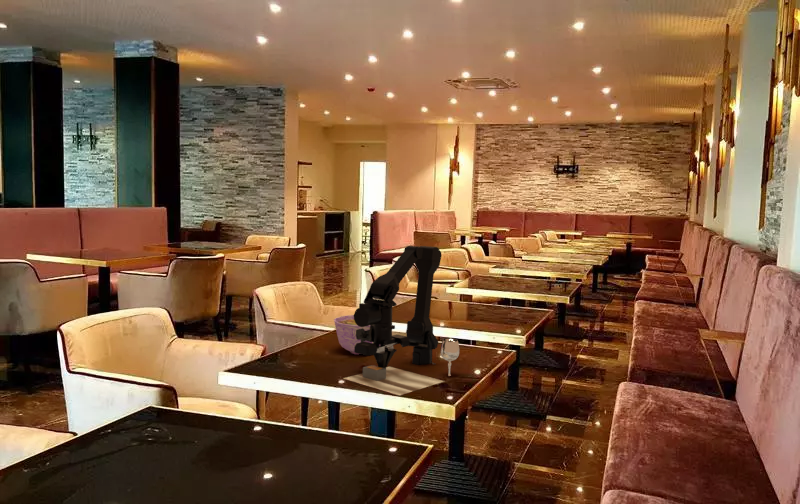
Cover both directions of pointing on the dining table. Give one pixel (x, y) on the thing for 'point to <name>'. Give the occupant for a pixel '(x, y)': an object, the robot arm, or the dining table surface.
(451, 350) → the wineglass
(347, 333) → the bowl of food
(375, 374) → the block
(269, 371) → the dining table surface
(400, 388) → the subfloor board
